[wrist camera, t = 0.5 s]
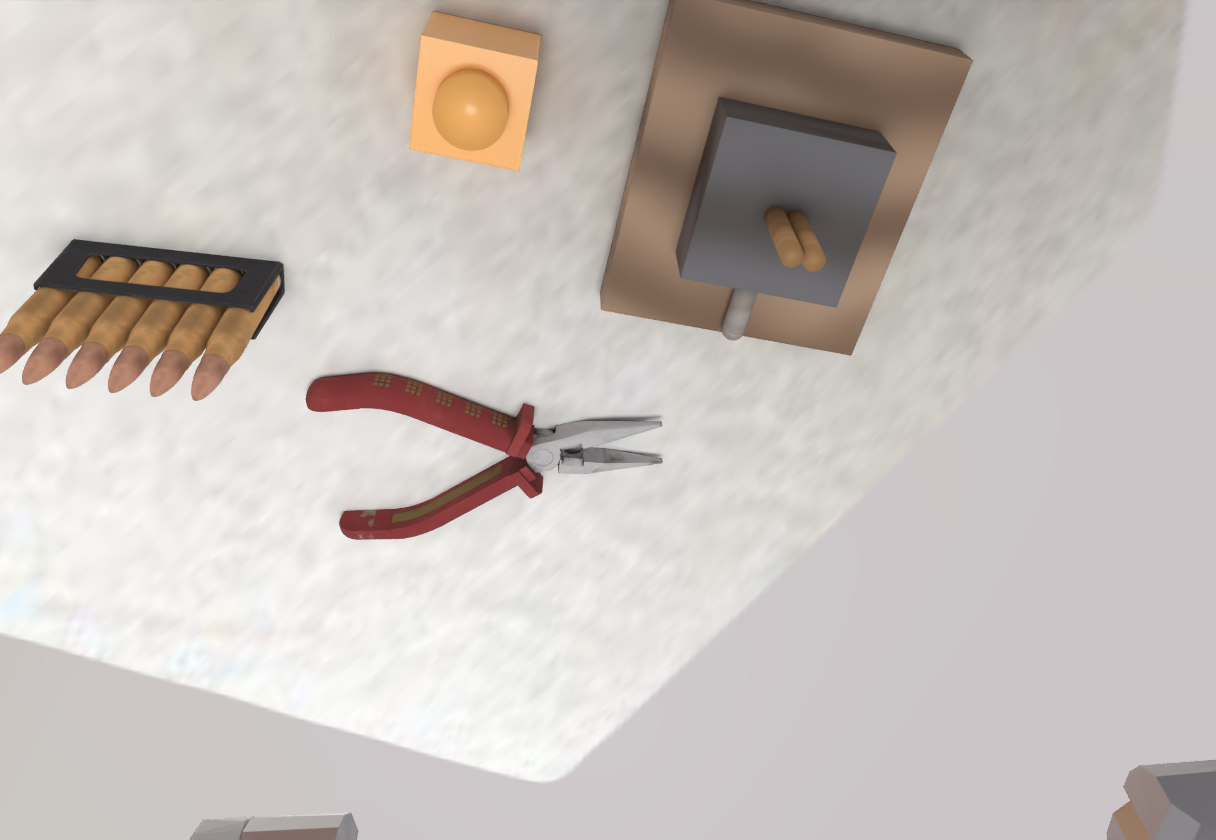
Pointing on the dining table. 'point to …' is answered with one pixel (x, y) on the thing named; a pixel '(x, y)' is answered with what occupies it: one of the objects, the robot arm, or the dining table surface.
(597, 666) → the dining table surface
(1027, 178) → the dining table surface
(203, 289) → the ammunition clip
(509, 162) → the orange knobbed cube
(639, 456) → the pliers
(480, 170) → the dining table surface
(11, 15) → the dining table surface
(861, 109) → the board
